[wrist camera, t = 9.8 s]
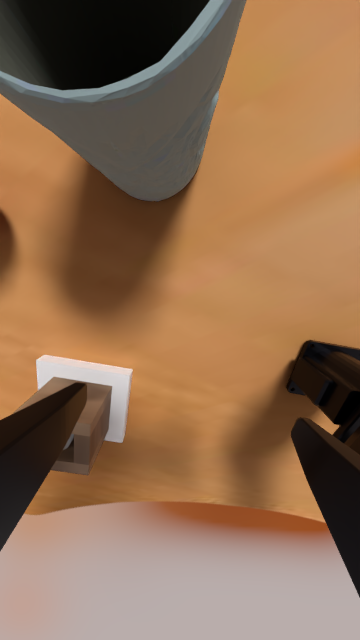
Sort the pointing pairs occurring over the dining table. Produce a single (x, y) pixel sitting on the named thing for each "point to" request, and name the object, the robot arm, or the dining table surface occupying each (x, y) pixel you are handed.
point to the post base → (93, 374)
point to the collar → (81, 425)
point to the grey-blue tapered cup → (121, 81)
